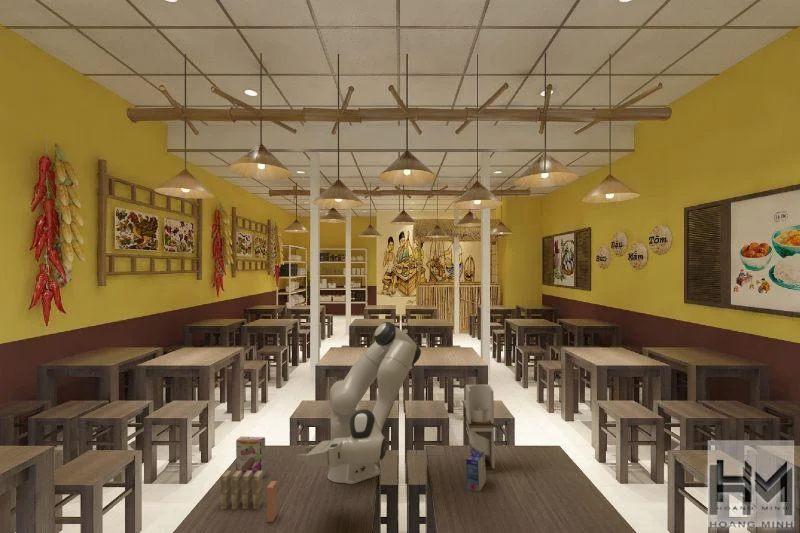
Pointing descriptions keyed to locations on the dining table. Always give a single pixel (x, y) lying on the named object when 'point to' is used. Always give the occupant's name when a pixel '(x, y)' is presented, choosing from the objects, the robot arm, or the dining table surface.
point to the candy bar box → (250, 454)
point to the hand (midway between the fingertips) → (301, 453)
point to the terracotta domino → (271, 501)
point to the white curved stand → (481, 422)
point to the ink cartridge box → (475, 470)
